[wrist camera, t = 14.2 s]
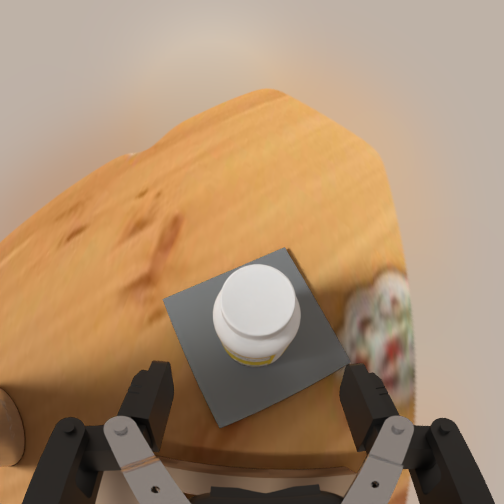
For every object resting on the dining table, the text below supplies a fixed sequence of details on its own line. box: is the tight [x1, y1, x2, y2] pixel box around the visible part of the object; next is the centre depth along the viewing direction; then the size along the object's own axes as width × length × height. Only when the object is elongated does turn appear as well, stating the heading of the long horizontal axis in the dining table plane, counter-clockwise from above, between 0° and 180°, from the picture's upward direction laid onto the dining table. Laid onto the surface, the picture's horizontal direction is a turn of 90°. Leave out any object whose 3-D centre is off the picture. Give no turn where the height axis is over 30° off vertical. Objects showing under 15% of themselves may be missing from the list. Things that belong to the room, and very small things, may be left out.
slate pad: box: [163, 247, 350, 428], centre depth 25 cm, size 12×12×1 cm
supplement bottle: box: [213, 264, 301, 367], centre depth 20 cm, size 5×5×10 cm
